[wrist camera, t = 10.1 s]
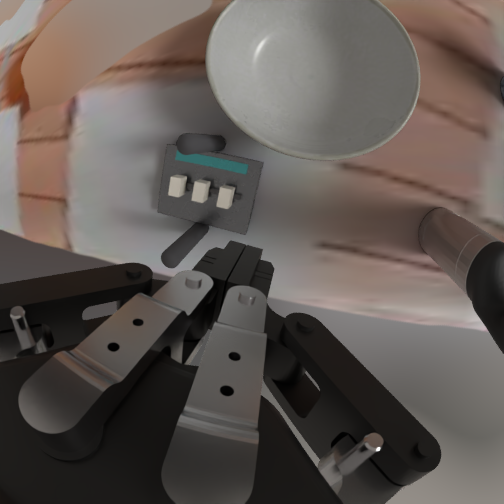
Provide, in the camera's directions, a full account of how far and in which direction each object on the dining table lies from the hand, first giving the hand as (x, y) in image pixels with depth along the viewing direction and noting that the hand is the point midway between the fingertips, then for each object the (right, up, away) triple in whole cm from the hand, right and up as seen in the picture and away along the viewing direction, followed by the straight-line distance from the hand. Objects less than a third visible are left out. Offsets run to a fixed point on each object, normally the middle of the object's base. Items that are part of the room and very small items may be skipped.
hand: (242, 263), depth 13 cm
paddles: (-7, +10, +30) cm, 32 cm away
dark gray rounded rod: (-5, +18, +30) cm, 35 cm away
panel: (-7, +11, +33) cm, 35 cm away
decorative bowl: (+10, +28, +24) cm, 38 cm away
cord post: (-8, +5, +36) cm, 37 cm away
